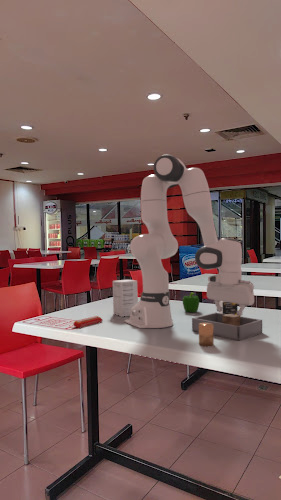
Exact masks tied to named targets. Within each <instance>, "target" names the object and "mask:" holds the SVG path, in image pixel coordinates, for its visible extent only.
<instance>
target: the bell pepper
mask: <svg viewBox="0 0 281 500" xmlns="http://www.w3.org/2000/svg"><path fill="white" fill-rule="evenodd" d="M199 305H200V298H199V296H198V295H195V293H194V292H192V291H191V292H190V294H189V295H183V298H182V306H183V310H184V311H185V312H186V313H197V311H198V310H199Z"/></svg>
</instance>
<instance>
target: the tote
mask: <svg viewBox="0 0 281 500" xmlns="http://www.w3.org/2000/svg"><path fill="white" fill-rule="evenodd" d="M223 315H227V314H222V313H219V312H212V313H209V314H205V315H200V316H195V317H191V331H193V332H197V333H199V323H212V324H213V333H214V336H215V337H220V338H223V339H229V340H234V341H239V342H240V341H243V340H246V339H248V338H249V339H250V338H251V337H254V336H257V335H260V334H262V333H263V319H258V318H253V317H247V316H246V317H245V316H240V319H241V325H240V326H235V325H229V324H224V323H223V320H222V316H223Z"/></svg>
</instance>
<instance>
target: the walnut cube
mask: <svg viewBox="0 0 281 500" xmlns="http://www.w3.org/2000/svg"><path fill="white" fill-rule="evenodd" d="M222 320H223V323H224V324H229V325H235V326H240V325H241V319H240V316H239V315H235V314H227V315H223V316H222Z"/></svg>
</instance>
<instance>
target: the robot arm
mask: <svg viewBox="0 0 281 500" xmlns="http://www.w3.org/2000/svg"><path fill="white" fill-rule="evenodd" d="M153 172H154V174H150V175H148V176H146V177H144V178H143V180H142V184H141V190H140V213H141V214H140V216H141V217H140V218H141V222H142V223H143V224H144V225H145V226H146V229H147V231H148V233H143V234H140V235H137V236H135V237H133V239H132V240H131V242H130V248H129V249H130V253H131V254H132V257H134V259H136V261H137V263H138V265H139V267H140V271H141V276H142V292H139V293H138V296H139V297H140V299H139V300H138V303H137V304H136V305H135V306H133V307H132V308H131V310H130V316H129V317H128V318H125V319H124V323H126V324H129V325H132V326H133V327H136V328H139V329H160V328H169V327H171V326H173V325H174V322H173V321H174V320H173V318H172V312H171V304H170V300H171V292H170V290H169V288H170V287H169V286H170V285H169V283H170V282H169V273H168V271H167V270H166V269H165V268H164V266H163V262H162V260H164V259H168V258H171V257H173V256H175V255H176V253H177V252H178V251H179V250H178V249H179V243H178V239H176V237H175V236H174V235H173V233H172V229H171V227H170V224H169V218H168V203H167V202H168V201H167V198H168V197H167V191H168V189H172V188H175V187H177V186H179V187H180V190H181V194H182V199H183V204H184V207H185V210H186V213H187V214H188V215H189V217H191V218H192V219H193V220H194V221H195V222H196V223H197V225H198V227H199V230H200V232H201V233H200V234H201V238H202V241H203V246H201V247H200V248H199V249H197V250H196V252H195V255H194V261H195V263H196V264H195V265H197V266H198V267H199V268H200V269H203V270H206V271H209V270H215V269H218V273H216V274H213V275H209V276H208V277H207V281H208V283H207V284H206V285H207V286H206V297H207V299H209V300H212V301H213V300H214V305H215V307H216V312H218V313H219V312H221V311H222V307H221V306H220V304H219V302H220V301H224V302H230V303H236V304H237V305H238V306H239V309H238V311H237V315H239V316H241V317H243V313H244V310H245V309H246V307H247V306H253V305H254V303H255V292H254V287H255V285H254V284H253V282H251V280H243V279H242V270H243V269H242V265H241V264H242V261H243V250H242V249H243V248H242V244H241V242H240V241H239V240H238V239H235V238H231V237H222V238H220V239H219V238H218V233H217V230H216V225H215V220H214V213H213V206H212V205H213V204H212V197H211V193H210V187H209V184H208V180H207V178H206V176H205V173H204V171H203V170H202V169H201V168H199V167H190V168H188V167H187V165H186V164H185V163H184V162H183V161H182V160H181V159H179V158H178V157H176V156H174V155H172V154H163V155H162V154H161V155H160V156H158V157H157V158H156V160H155V161H154V165H153Z"/></svg>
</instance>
